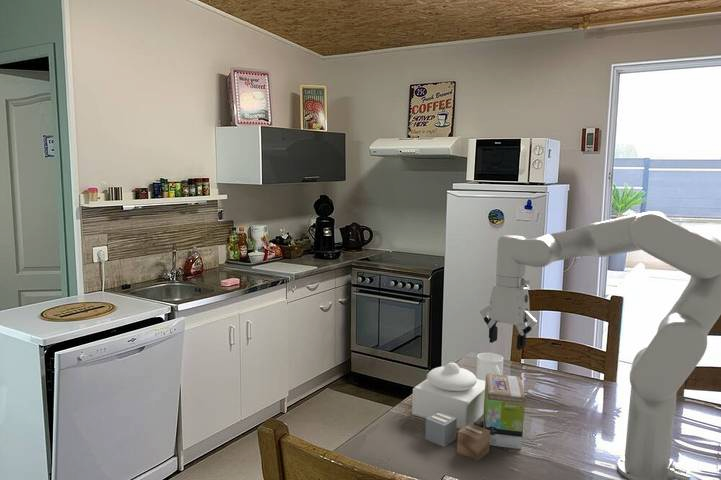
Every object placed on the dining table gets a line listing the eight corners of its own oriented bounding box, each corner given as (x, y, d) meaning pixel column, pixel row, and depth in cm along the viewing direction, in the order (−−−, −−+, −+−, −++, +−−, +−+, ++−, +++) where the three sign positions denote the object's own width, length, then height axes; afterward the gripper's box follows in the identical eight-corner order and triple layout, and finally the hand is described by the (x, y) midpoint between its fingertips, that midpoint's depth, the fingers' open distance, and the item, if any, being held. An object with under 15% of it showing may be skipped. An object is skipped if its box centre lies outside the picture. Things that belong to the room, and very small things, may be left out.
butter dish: (437, 395, 172) (439, 348, 170) (490, 409, 162) (492, 360, 160) (411, 415, 158) (413, 364, 156) (468, 432, 148) (470, 378, 146)
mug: (486, 397, 171) (488, 365, 169) (471, 383, 182) (473, 353, 181) (511, 395, 172) (512, 364, 171) (494, 381, 184) (496, 352, 183)
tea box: (523, 450, 139) (526, 396, 137) (483, 445, 141) (486, 392, 139) (517, 423, 153) (520, 375, 151) (482, 420, 155) (484, 371, 153)
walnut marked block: (489, 452, 137) (490, 429, 137) (477, 461, 133) (478, 438, 132) (468, 444, 141) (469, 422, 141) (457, 452, 137) (458, 430, 136)
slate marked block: (456, 438, 144) (456, 417, 143) (444, 447, 140) (444, 424, 139) (437, 431, 148) (438, 410, 147) (425, 439, 144) (426, 417, 143)
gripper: (547, 284, 138) (543, 349, 141) (487, 274, 150) (484, 335, 152) (535, 288, 133) (531, 356, 135) (474, 278, 144) (471, 340, 147)
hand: (506, 344), depth 144 cm, fingers open, 7 cm apart
